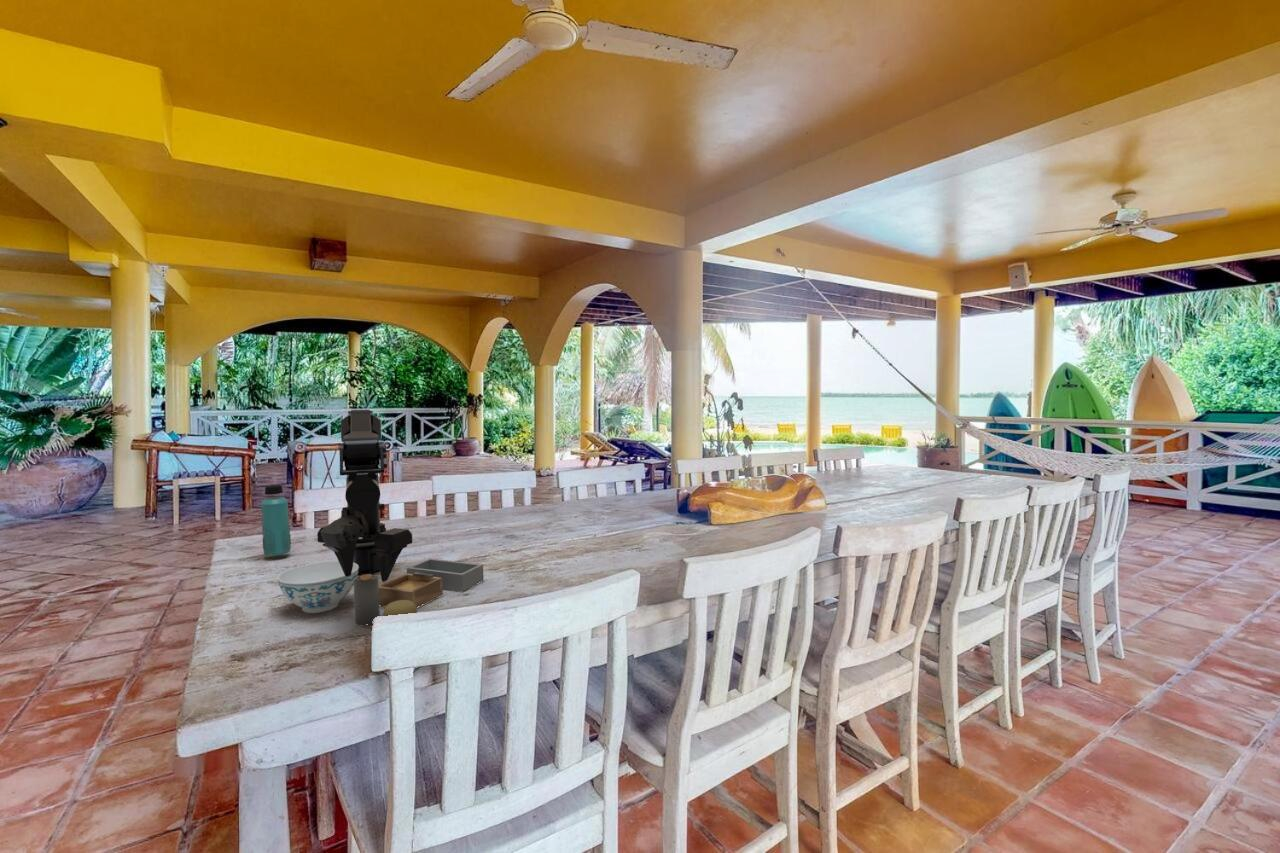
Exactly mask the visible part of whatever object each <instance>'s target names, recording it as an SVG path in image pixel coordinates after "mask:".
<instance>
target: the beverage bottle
mask: <svg viewBox="0 0 1280 853" xmlns="http://www.w3.org/2000/svg"><path fill="white" fill-rule="evenodd" d="M283 493H284V492H283V486H282V485H280V484H279V485H278V484H274V485H273V484H271V485H267V486H265V487H264V495H266V496H267V495H268V496H269V495H279V494H280V495H281V494H283ZM260 506H261V508H260V509H261V527H262V528H261V530H262V533H261V535H262V547H263V548H262V549H263V553H264V555H265V556H279V555H285V554H287V553H290V552H291V548H292V546H291V545H292V542H291V541H292V540H291V527H290V522H291V521H290V517H289V501H288V499H286V498H285V497H284V496H272V497H267V498H264V499H263V500H262V501H261V503H260Z"/></svg>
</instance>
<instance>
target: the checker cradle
mask: <svg viewBox="0 0 1280 853" xmlns="http://www.w3.org/2000/svg"><path fill="white" fill-rule="evenodd" d="M407 580H413V581H420V582H428V583H427V584H425V585H422V586H420V587H418V588H416V589H414V590H412V591H411V590H404V589H397V588H391V587H393V586H396V585H398V584H400V583H402V582H405V581H407ZM443 590H444V589H443V585H442V578H439V577H434V574H426V573H418V572H415V573H413V574H408V573H407V572H406V574H403V575H400V576H398V577H396V578H394V579H391V580H389V581H385V582H383V583H382V584H380V585H379V605H381V606H380V607H383V606H387V605H388V604H390V603H392V602H394V601H399V600H409V601H412V602H414V604H415V605H416V607H418V606H421V605H422V604H425V603H427V602H429V601H431V600H433V599H435V598H437V597H439V596H441V595H444V591H443ZM441 597H442V596H441ZM439 598H440V597H439ZM437 599H438V598H437ZM435 600H436V599H435ZM433 601H434V600H433ZM431 602H432V601H431ZM429 603H430V602H429ZM427 604H428V603H427ZM425 605H426V604H425Z"/></svg>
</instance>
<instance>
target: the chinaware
mask: <svg viewBox="0 0 1280 853" xmlns="http://www.w3.org/2000/svg"><path fill="white" fill-rule="evenodd" d="M358 569H359V566H358V565H357V564H356V563H353V568H352V573H351V575H350V576H348V577H346V576H345V574H344V572H343V570H342V568H341V565H340V563H339V561H338V560H326V561H318V562H310V563H306V564H302V565H298V566H295V567H291V568H289V569H286V570H284V571H282V572H280V573H279V574H278V575H277V577H276V579H277V583H278V585H279V588H280V591H281V592H282V594H283V595H284V597H285V598H286V599H287V600H288V601H289V602H290V603H292V604H293V605H296V606H297V607H300V608H302V610H301V611H303V613H307V614H317V613H324V612H327V611H331V610H333V609H335V608H336V607H338V606H339V602H340V601H341V600H342V599H343V598H345V597H346V596H347V595H348V594H349V593H350V591H351V590H352V589H353V588H354V580H355V579H356V578H358V575H359V574H358Z"/></svg>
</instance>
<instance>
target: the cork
mask: <svg viewBox="0 0 1280 853" xmlns="http://www.w3.org/2000/svg"><path fill="white" fill-rule="evenodd" d="M408 613H417V614H418V609H417V607H416V605H415V604H414V602H412V601H409V600H399V601H394V602H392V603H390V604H388V605H387V606H386V607H384V610H383V612H382V617H383V616H388V615H398V614H408ZM418 669H420V667H419V668H415V670H414V672H416V671H417V670H418ZM383 674H384V675H385V676H388V675H387V673H383Z"/></svg>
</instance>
